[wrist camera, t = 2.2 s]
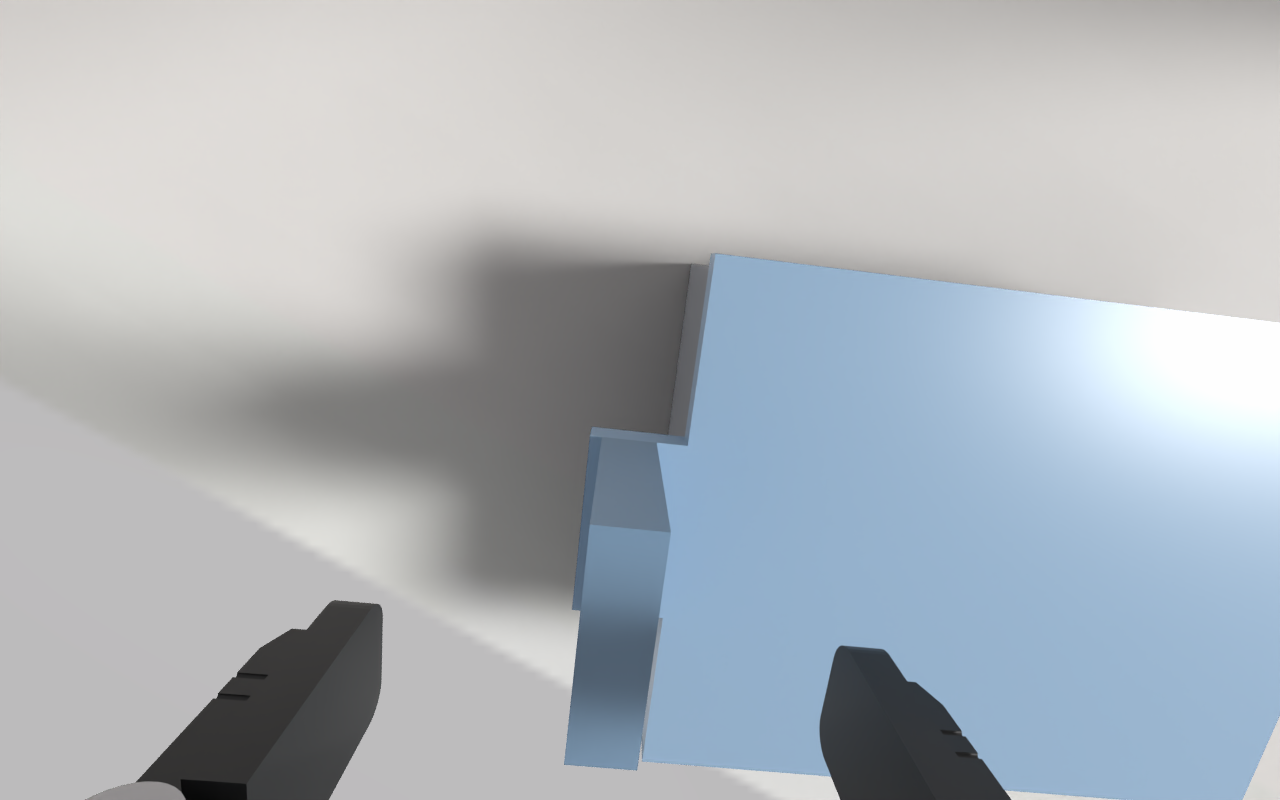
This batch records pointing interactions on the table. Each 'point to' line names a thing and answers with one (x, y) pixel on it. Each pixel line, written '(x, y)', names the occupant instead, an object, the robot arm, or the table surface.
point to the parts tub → (688, 350)
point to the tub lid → (944, 534)
